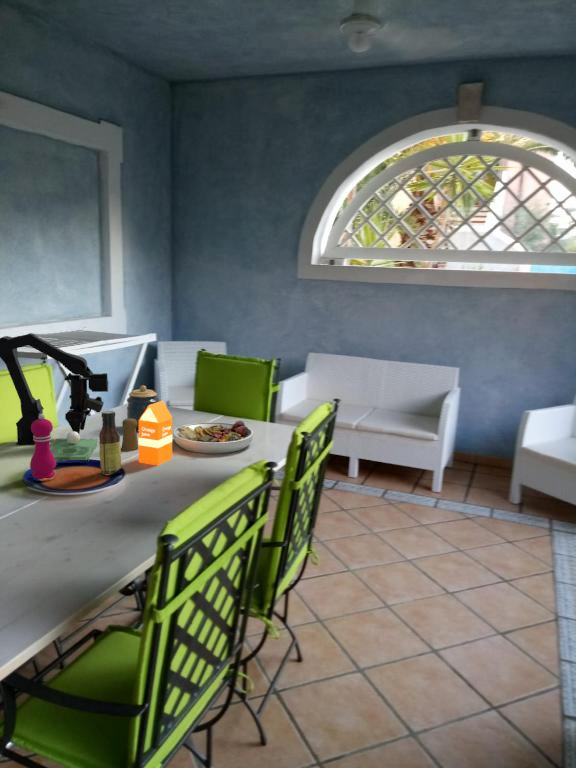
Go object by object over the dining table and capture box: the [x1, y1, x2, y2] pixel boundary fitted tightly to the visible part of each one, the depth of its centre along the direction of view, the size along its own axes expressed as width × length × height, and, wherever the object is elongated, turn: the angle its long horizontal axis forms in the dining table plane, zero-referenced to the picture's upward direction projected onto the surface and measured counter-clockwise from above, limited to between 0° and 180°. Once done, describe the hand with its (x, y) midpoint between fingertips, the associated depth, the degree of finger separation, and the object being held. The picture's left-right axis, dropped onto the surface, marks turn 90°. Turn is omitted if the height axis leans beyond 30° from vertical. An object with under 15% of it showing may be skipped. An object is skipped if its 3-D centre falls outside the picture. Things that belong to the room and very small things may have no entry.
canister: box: [126, 385, 160, 430], centre depth 234 cm, size 13×13×18 cm
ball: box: [65, 430, 81, 444], centre depth 200 cm, size 4×4×4 cm
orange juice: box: [138, 400, 173, 466], centre depth 193 cm, size 8×9×20 cm
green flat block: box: [50, 438, 98, 461], centre depth 196 cm, size 21×14×2 cm, turn 9°
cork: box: [120, 418, 139, 452], centre depth 206 cm, size 6×6×11 cm
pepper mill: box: [29, 413, 57, 479], centre depth 171 cm, size 7×7×20 cm
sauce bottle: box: [98, 410, 122, 475], centre depth 178 cm, size 6×6×20 cm
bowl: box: [172, 420, 254, 454], centre depth 216 cm, size 30×30×8 cm
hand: (79, 433), depth 212 cm, fingers open, 9 cm apart
